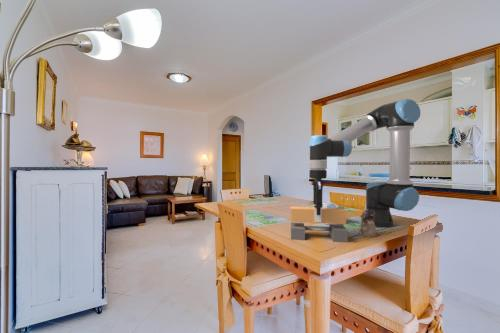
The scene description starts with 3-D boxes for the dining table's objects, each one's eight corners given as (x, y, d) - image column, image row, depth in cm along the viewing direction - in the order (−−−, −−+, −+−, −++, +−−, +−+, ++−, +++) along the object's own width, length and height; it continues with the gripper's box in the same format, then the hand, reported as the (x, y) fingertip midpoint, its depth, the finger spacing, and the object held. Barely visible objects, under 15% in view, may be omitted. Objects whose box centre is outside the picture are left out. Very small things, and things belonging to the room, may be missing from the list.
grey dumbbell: (342, 235, 113) (342, 224, 113) (347, 242, 103) (347, 230, 103) (290, 232, 117) (290, 222, 116) (291, 239, 107) (291, 228, 107)
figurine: (359, 231, 119) (360, 207, 118) (375, 233, 115) (376, 208, 115) (358, 235, 112) (359, 210, 112) (376, 237, 109) (376, 211, 109)
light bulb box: (339, 225, 130) (339, 205, 130) (326, 225, 131) (326, 205, 130) (332, 220, 141) (332, 202, 141) (321, 220, 141) (321, 201, 141)
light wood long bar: (343, 221, 110) (343, 208, 110) (346, 224, 105) (346, 210, 105) (290, 219, 114) (290, 206, 114) (290, 221, 109) (290, 208, 109)
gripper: (307, 168, 118) (307, 215, 119) (311, 170, 101) (310, 225, 101) (323, 168, 117) (322, 216, 118) (330, 170, 99) (329, 226, 100)
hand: (317, 220), depth 110 cm, fingers closed on light wood long bar, 5 cm apart
